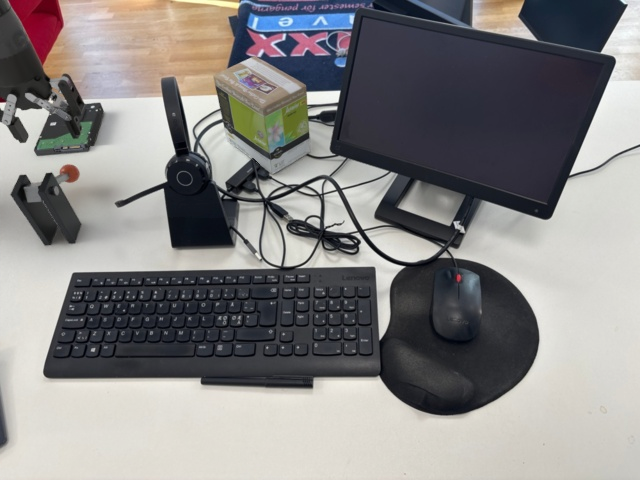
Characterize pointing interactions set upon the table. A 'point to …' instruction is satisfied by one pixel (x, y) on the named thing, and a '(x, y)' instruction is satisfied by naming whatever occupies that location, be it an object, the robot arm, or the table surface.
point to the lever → (65, 174)
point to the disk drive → (59, 138)
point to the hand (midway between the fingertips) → (51, 137)
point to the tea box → (264, 113)
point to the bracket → (41, 215)
